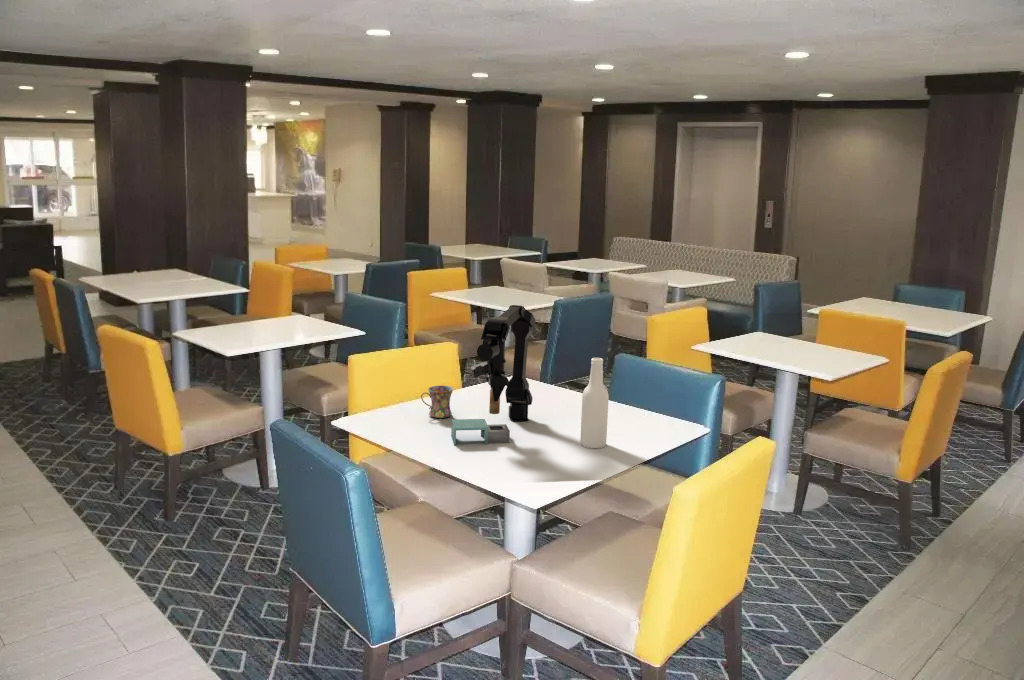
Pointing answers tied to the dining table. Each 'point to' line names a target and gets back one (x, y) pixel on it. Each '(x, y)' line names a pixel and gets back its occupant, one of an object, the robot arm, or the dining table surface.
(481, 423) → the station
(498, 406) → the peg
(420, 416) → the dining table surface
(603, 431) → the alcohol
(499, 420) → the dining table surface
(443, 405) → the mug
